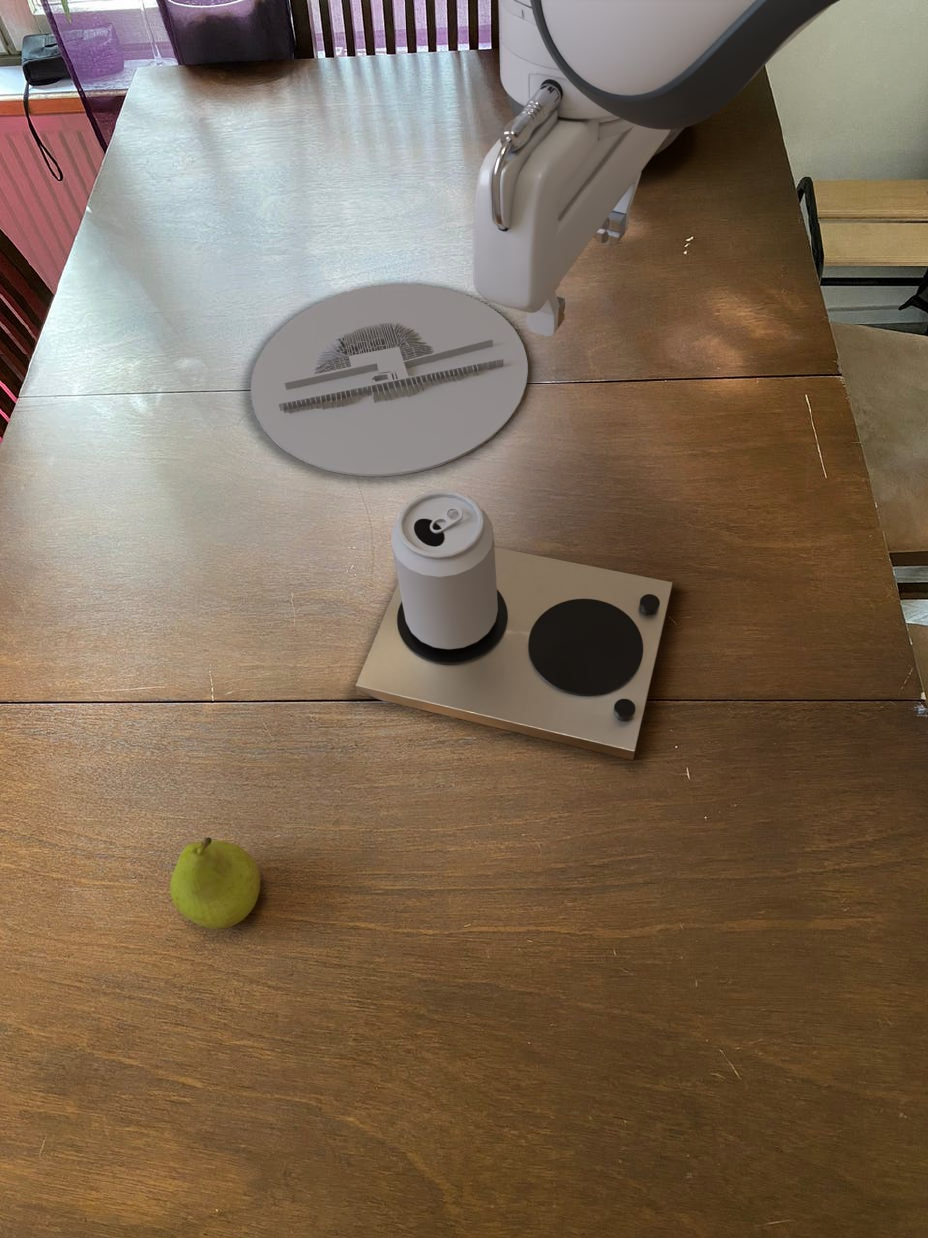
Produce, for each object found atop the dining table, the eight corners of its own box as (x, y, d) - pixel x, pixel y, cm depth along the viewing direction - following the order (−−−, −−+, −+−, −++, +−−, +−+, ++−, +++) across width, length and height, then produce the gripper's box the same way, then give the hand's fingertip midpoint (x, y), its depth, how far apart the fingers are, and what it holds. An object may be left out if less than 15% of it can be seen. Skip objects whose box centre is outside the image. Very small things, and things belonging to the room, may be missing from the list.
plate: (264, 501, 89) (261, 492, 88) (241, 312, 105) (238, 303, 104) (559, 444, 91) (559, 435, 90) (493, 267, 107) (492, 257, 106)
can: (388, 607, 79) (368, 511, 69) (464, 565, 81) (455, 465, 71) (437, 671, 75) (423, 579, 66) (516, 624, 77) (514, 528, 68)
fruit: (178, 882, 69) (118, 814, 59) (256, 848, 70) (210, 776, 60) (199, 957, 66) (140, 899, 56) (281, 920, 67) (237, 857, 57)
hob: (670, 592, 81) (674, 576, 79) (632, 760, 72) (635, 746, 70) (420, 542, 85) (418, 525, 83) (357, 695, 77) (353, 680, 75)
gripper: (558, 162, 41) (553, 405, 53) (722, -39, 51) (687, 203, 62) (430, 132, 43) (451, 372, 55) (611, -55, 53) (597, 182, 64)
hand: (578, 280), depth 59 cm, fingers open, 8 cm apart
